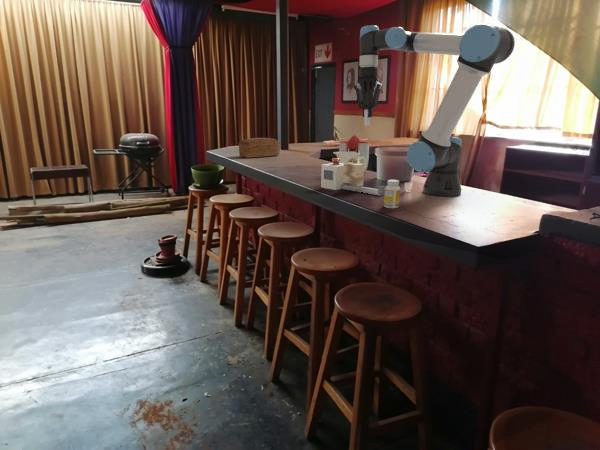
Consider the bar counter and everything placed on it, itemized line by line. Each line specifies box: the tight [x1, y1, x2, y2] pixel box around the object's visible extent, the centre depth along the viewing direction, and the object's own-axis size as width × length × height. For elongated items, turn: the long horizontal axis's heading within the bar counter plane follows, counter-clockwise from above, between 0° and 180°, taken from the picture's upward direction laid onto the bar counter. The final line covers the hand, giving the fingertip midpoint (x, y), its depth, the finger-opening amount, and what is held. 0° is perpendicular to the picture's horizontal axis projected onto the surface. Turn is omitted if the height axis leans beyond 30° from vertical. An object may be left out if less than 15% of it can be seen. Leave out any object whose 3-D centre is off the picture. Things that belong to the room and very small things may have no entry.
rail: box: [340, 184, 386, 197], centre depth 180 cm, size 20×4×4 cm, turn 47°
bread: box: [238, 137, 281, 159], centre depth 289 cm, size 14×28×12 cm, turn 127°
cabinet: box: [320, 162, 344, 191], centre depth 189 cm, size 8×10×10 cm
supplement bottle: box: [383, 179, 401, 209], centre depth 155 cm, size 5×5×10 cm
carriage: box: [343, 162, 365, 187], centre depth 182 cm, size 7×5×9 cm
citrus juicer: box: [338, 134, 371, 175], centre depth 219 cm, size 16×17×20 cm
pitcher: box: [332, 151, 368, 173], centre depth 203 cm, size 11×18×14 cm, turn 112°
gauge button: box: [331, 157, 340, 165], centre depth 188 cm, size 4×4×7 cm
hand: (367, 125), depth 185 cm, fingers closed
